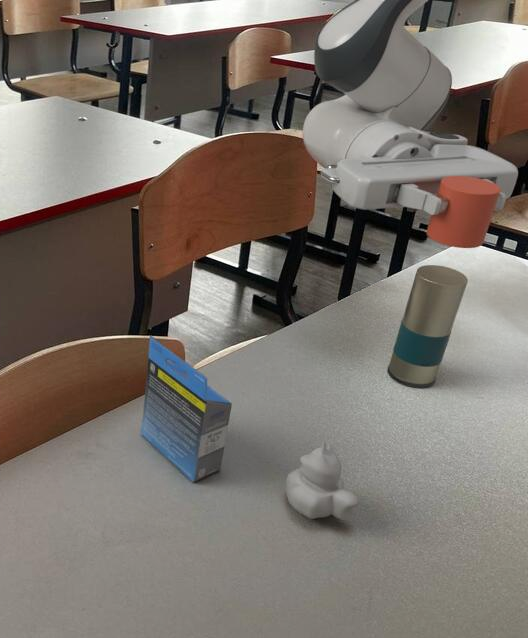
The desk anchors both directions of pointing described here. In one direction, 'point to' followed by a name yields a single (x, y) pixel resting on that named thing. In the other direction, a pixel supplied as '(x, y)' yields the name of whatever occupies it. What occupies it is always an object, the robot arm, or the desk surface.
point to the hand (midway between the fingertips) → (471, 205)
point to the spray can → (426, 325)
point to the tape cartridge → (183, 414)
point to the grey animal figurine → (320, 486)
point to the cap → (464, 212)
